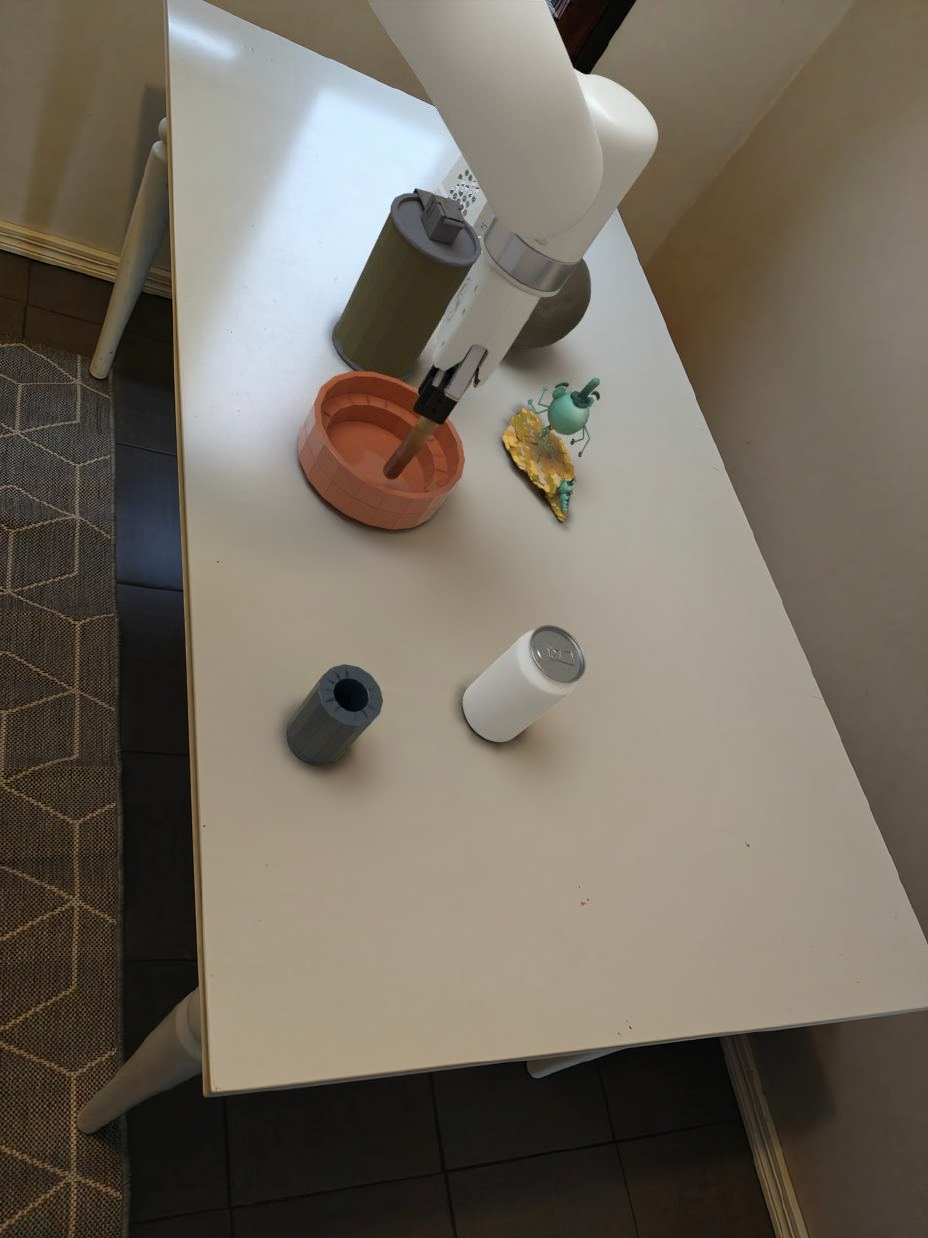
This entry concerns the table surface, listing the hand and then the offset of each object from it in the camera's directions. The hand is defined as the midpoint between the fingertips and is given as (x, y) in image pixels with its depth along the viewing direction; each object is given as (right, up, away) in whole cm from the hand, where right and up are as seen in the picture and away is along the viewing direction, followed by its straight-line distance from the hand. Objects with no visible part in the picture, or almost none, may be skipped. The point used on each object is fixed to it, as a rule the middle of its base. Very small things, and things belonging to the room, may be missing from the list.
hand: (430, 407), depth 81 cm
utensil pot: (-9, -30, -9) cm, 33 cm away
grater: (+5, +40, +48) cm, 62 cm away
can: (+6, -29, +1) cm, 30 cm away
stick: (-5, -5, +8) cm, 10 cm away
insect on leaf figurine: (+12, -1, +24) cm, 27 cm away
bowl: (-7, -4, +10) cm, 13 cm away
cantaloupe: (+9, +18, +35) cm, 41 cm away
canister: (-8, +12, +21) cm, 25 cm away
